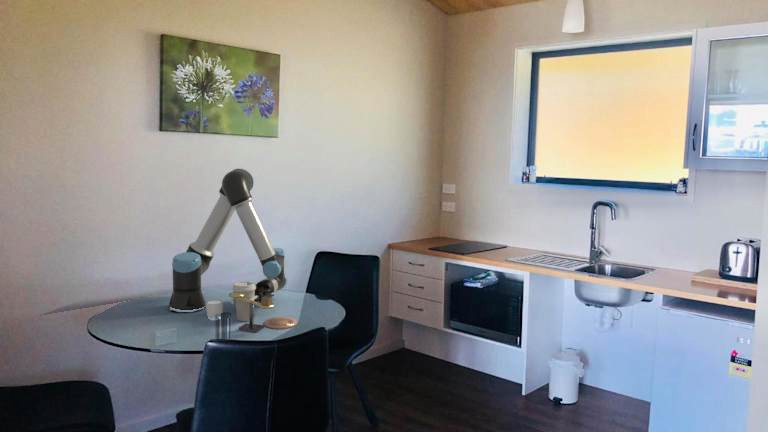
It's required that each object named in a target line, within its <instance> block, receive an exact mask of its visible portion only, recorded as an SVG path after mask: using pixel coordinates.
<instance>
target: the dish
mask: <svg viewBox="0 0 768 432" xmlns="http://www.w3.org/2000/svg"><path fill="white" fill-rule="evenodd" d="M297 325H298V322H297V319H295V318H293V317H289V316H275V317H270V318H267V319H265V320H264V327H266V328H269V329H274V330H286V329H291V328H295V326H297Z"/></svg>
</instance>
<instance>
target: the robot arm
mask: <svg viewBox="0 0 768 432" xmlns="http://www.w3.org/2000/svg"><path fill="white" fill-rule="evenodd" d="M253 187H254V178H253V175H252V174H251V173H250V172H249V171H248V170H247V169H243V168H235V169H232V170H231V171H229V172H227V173H226V174H225V175H224V177H223V178H222V180H221V186H220V188H219V190H218V193H219V197H218V199H217V202H216V203H215V205H214V207H213V208H212V210H211V212H210V215H208V218H207V220H206V221H205V222H204V225H203V227H202V229H201V231H200V232H199V234H198V236H197V238H196V239H195V241H193V242H191V243H190V244H189V245H188V247H187V249H186V251H185V252H181V253H178V254H176V255H174V256H173V257H172V263H171V266H172V294H171V297H170V299H169V303H168V307H169V306H170V307H172V308H175V309H180V310H193V309H199V308H202V307H204V306H206V300H205V297H204V294H203V291H202V276H203V274H204V273H206V271H208V269H209V267H210V265H211V262H212V259H213V258H214V256H215V253H214V249H215V247H216V245H217V244H218V242H219V241H220V238H221V236H222V235H223V233H224V231H225V229H226V227H227V226H228V223H229V222H230V220H231V218H232V216H233V215H234V213H235V212H236V214H237V216H238V217H239V220H240V224H242V227H243V229H244V231H245V233H246V235H247V237H248V239H249V241H250V243H251V245H252V247H253V250H254V252H255V254H256V255H257V258H258V260H259V263H260V265H261V267H262V273H263V276H265V277H266V278H264V279H261V280H260V281H258V282H257V283H256V284H255V286H256V289H255V297H253V298H251V299H250V300H253V301H256V302H258V303H260V302H261V298H262V297H264V296H269V297H272V298H273V297H274V296H275V293H277V292H278V291H280V290H282V289H283V288H284V287H285V286H286V285H287V284H288V277H287V274H285V250H284V249H283V248H280V247H273V245H272V242H271V240H270V238H269V236H268V235H267V231H266V229H265V227H264V226H263V223H262V221H261V219H260V217H259V215H258V212H257V210H256V208H255V206H254V204H253V203H252V199H253V197H252V195H251V191H252V189H253ZM230 299H231V301H230V302H231V305H234V304H235V298H233V297H230Z"/></svg>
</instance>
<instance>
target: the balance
mask: <svg viewBox="0 0 768 432" xmlns="http://www.w3.org/2000/svg"><path fill="white" fill-rule="evenodd" d="M243 296H244V293H242V292H234V291H232V292H230V293H228V297H229V298H231V297H233V298H238V299H240V300H243V301H246V302H249V321H248V322H245V323H244V324H242V325H240V326H239V327H238V331H243V332H249V333H255V334H256V333H257V334H258V333H259V332H261V331H262V330H263V329H264V328H265V324H254V320H255V319H254V313H255V311H254V310H255V306H257V307H258V308H259V309H266V310H268V309H273V308H274V307H275V304H274V302H273V296H272V297H269V296H264V297H262V298H261V303H260V302H256V301H253V300H250V299H247V298H244V297H243Z"/></svg>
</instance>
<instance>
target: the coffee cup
mask: <svg viewBox="0 0 768 432" xmlns="http://www.w3.org/2000/svg"><path fill="white" fill-rule="evenodd" d="M255 289H256V284H255V282H253V281H250V280H249V281H247V280H246V281H237V282H235V283H234V284H233V286H232V292H242V293H244V296H243V297H244V298H247V299H251V298H253V297H255ZM234 304H235V311H236V318H237V319H238V320H237V321H239V322H249V302H246V301H243V300H240V299H238V298H235V303H234Z"/></svg>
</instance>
